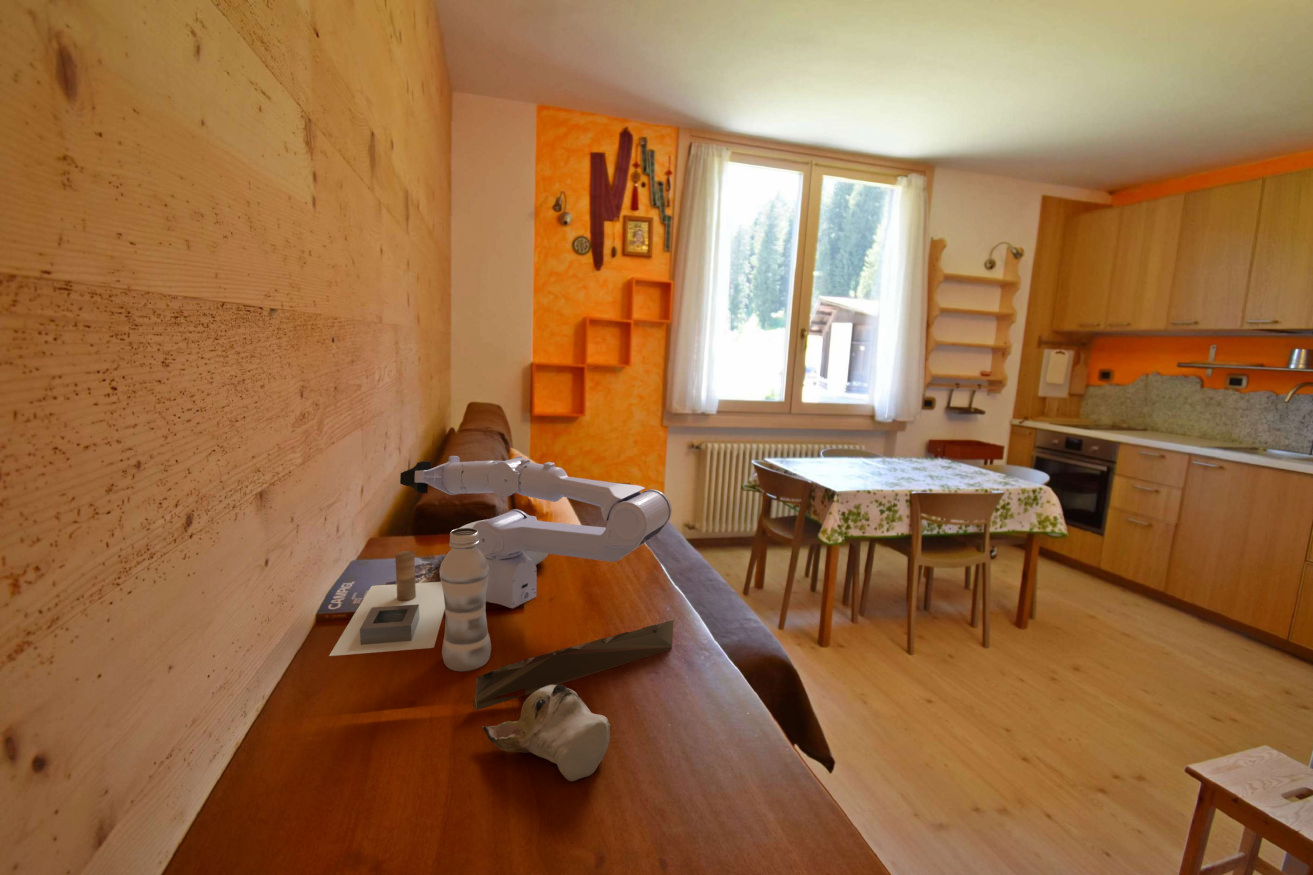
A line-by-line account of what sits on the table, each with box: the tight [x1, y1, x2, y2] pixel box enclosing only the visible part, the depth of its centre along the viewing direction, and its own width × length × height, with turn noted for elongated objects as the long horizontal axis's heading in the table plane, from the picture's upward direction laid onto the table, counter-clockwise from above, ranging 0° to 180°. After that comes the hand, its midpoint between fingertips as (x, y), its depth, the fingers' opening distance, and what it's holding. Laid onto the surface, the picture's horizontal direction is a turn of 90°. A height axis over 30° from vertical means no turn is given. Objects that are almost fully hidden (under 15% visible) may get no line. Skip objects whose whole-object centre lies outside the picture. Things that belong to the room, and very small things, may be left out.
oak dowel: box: [394, 550, 416, 601], centre depth 99 cm, size 3×3×8 cm
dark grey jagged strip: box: [473, 618, 674, 711], centre depth 80 cm, size 30×1×5 cm, turn 123°
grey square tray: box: [360, 604, 420, 645], centre depth 88 cm, size 7×7×2 cm
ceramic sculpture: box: [481, 684, 611, 782], centre depth 64 cm, size 11×9×15 cm
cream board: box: [328, 581, 445, 657], centre depth 94 cm, size 24×14×1 cm, turn 13°
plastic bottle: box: [439, 527, 492, 672], centre depth 80 cm, size 6×7×20 cm
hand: (419, 479), depth 108 cm, fingers open, 7 cm apart
